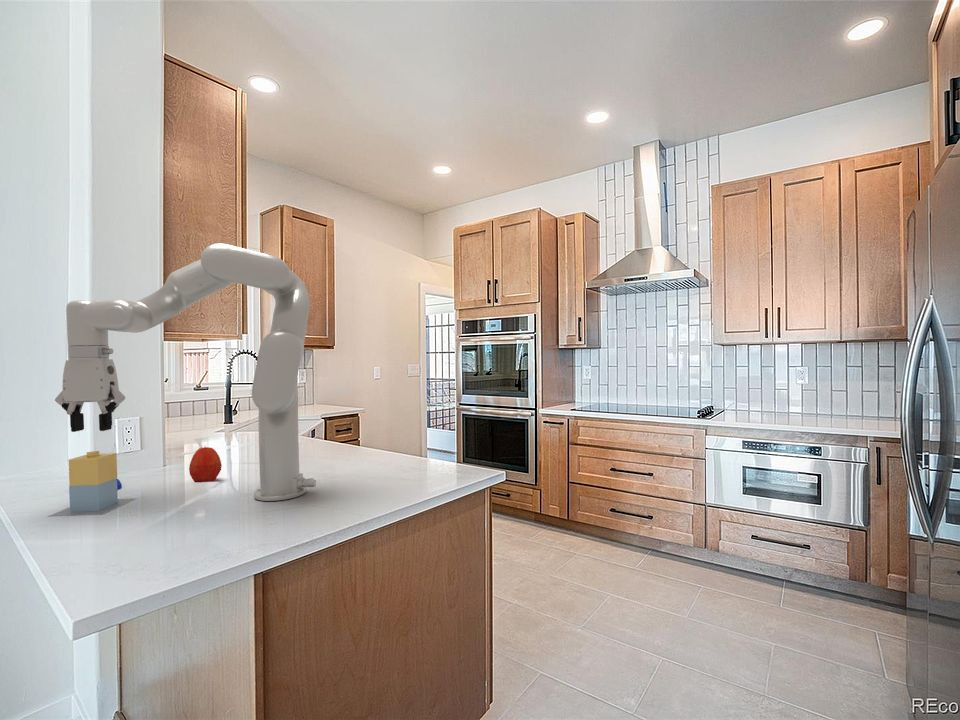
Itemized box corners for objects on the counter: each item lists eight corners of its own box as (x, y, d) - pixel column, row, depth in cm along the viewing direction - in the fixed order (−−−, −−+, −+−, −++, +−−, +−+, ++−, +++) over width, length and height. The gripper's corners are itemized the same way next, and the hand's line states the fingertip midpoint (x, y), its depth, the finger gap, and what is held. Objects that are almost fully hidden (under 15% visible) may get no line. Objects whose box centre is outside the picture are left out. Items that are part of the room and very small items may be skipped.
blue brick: (117, 502, 120) (116, 473, 120) (99, 510, 114) (97, 480, 114) (90, 503, 120) (89, 474, 120) (70, 511, 113) (68, 481, 113)
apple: (228, 481, 143) (227, 444, 143) (199, 488, 136) (198, 449, 136) (212, 477, 147) (211, 441, 147) (183, 484, 140) (182, 446, 140)
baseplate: (137, 503, 123) (136, 494, 123) (103, 519, 111) (103, 509, 111) (87, 504, 123) (86, 496, 122) (47, 521, 111) (47, 511, 110)
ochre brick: (117, 477, 120) (116, 448, 120) (98, 484, 114) (97, 454, 114) (90, 478, 120) (88, 449, 120) (69, 485, 113) (68, 455, 113)
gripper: (136, 352, 120) (139, 427, 121) (63, 354, 119) (66, 429, 120) (115, 353, 113) (118, 432, 113) (37, 354, 112) (40, 434, 112)
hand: (91, 429), depth 116 cm, fingers open, 5 cm apart
